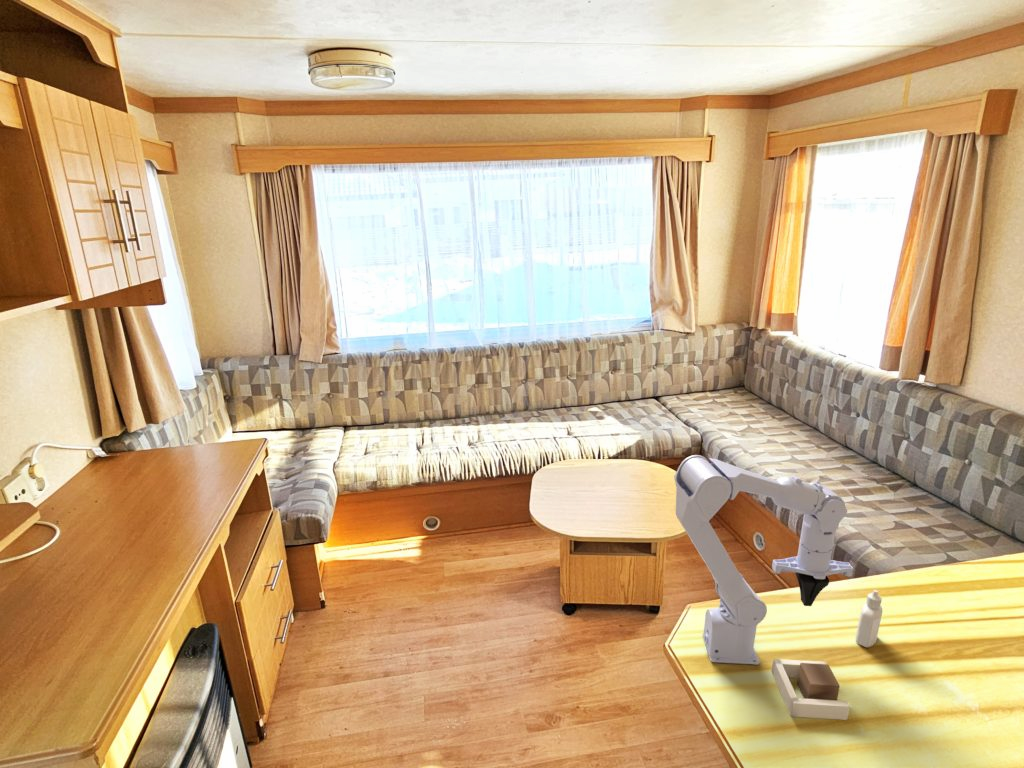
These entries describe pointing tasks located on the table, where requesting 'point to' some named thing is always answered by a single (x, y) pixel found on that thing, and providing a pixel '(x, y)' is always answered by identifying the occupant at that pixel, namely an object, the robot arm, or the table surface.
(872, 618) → the eye dropper bottle
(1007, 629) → the table surface
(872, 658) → the table surface
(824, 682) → the walnut cube
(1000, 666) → the table surface
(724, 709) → the table surface
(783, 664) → the dock
